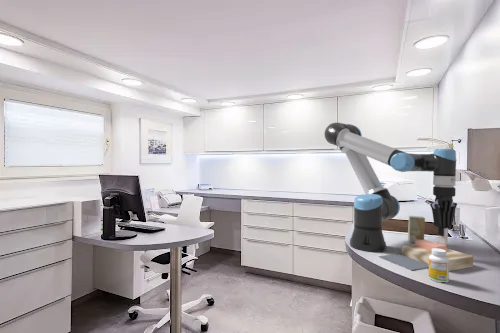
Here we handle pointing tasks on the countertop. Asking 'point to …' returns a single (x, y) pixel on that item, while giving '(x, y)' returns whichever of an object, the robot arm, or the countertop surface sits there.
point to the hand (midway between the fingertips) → (443, 243)
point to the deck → (455, 257)
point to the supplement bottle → (439, 265)
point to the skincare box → (416, 228)
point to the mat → (405, 261)
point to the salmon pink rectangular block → (430, 245)
